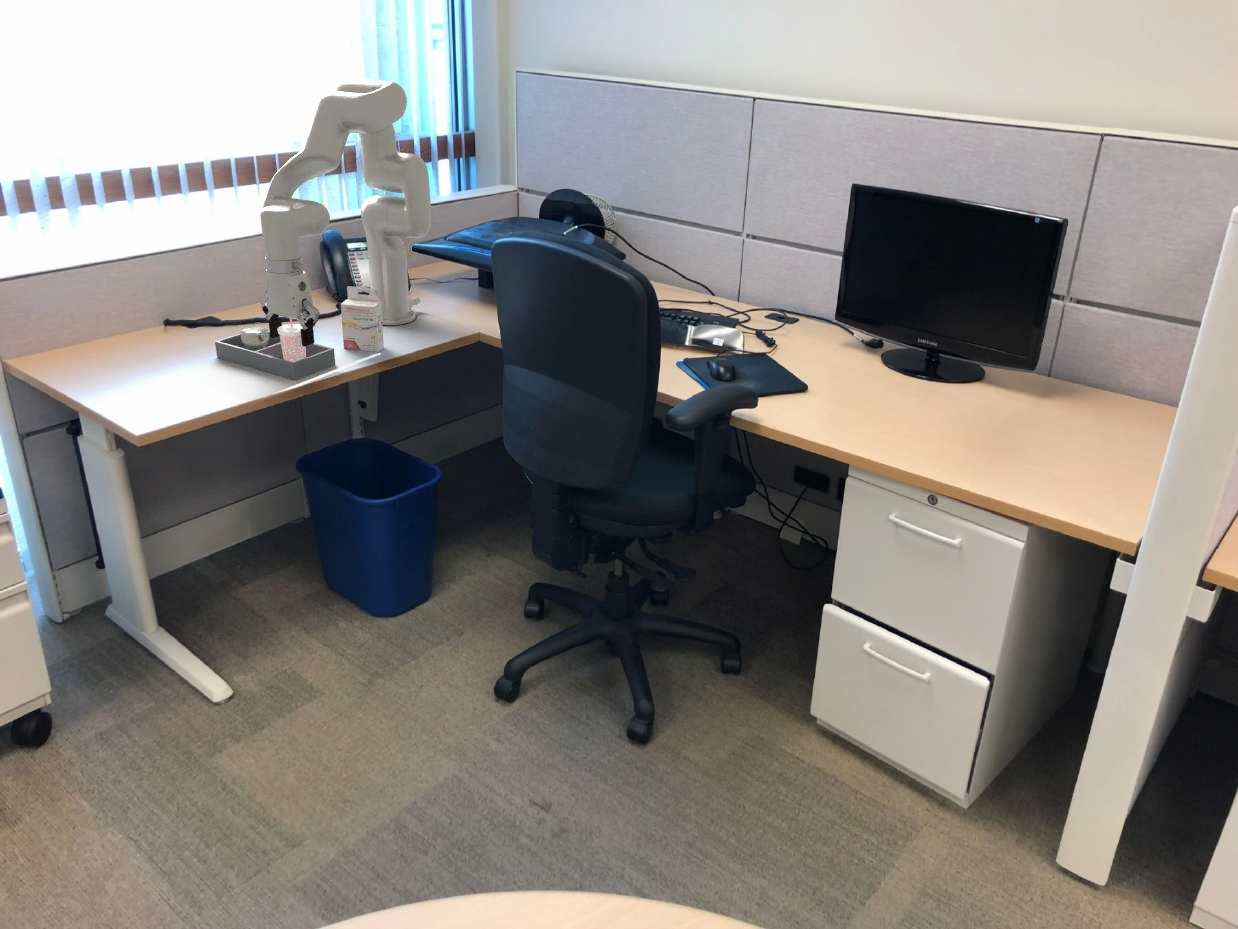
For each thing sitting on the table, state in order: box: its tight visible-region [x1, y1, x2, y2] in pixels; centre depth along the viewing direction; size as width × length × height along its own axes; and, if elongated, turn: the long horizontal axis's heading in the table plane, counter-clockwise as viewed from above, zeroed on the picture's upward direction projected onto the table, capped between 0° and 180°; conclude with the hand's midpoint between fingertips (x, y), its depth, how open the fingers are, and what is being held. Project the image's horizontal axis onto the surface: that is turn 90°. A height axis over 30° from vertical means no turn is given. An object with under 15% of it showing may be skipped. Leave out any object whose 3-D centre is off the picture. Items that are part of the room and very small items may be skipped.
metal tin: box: [240, 326, 270, 351], centre depth 229 cm, size 6×6×6 cm
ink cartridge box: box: [340, 285, 385, 354], centre depth 236 cm, size 9×5×15 cm, turn 84°
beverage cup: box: [277, 318, 306, 362], centre depth 222 cm, size 6×6×14 cm
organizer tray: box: [214, 330, 336, 381], centre depth 227 cm, size 12×25×4 cm, turn 60°
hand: (292, 340), depth 222 cm, fingers open, 9 cm apart
